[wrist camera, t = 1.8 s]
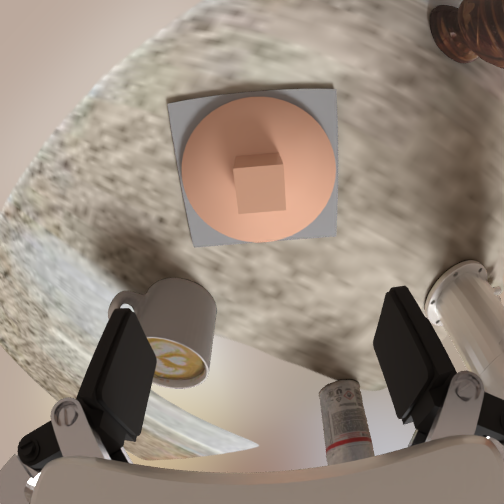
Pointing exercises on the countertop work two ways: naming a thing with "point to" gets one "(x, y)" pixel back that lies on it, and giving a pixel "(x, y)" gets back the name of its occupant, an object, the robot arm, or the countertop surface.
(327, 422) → the spray can
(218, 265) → the countertop surface
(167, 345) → the coffee mug
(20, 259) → the countertop surface
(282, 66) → the countertop surface
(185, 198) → the mat
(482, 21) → the mortar and pestle
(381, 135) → the countertop surface
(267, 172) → the lid
